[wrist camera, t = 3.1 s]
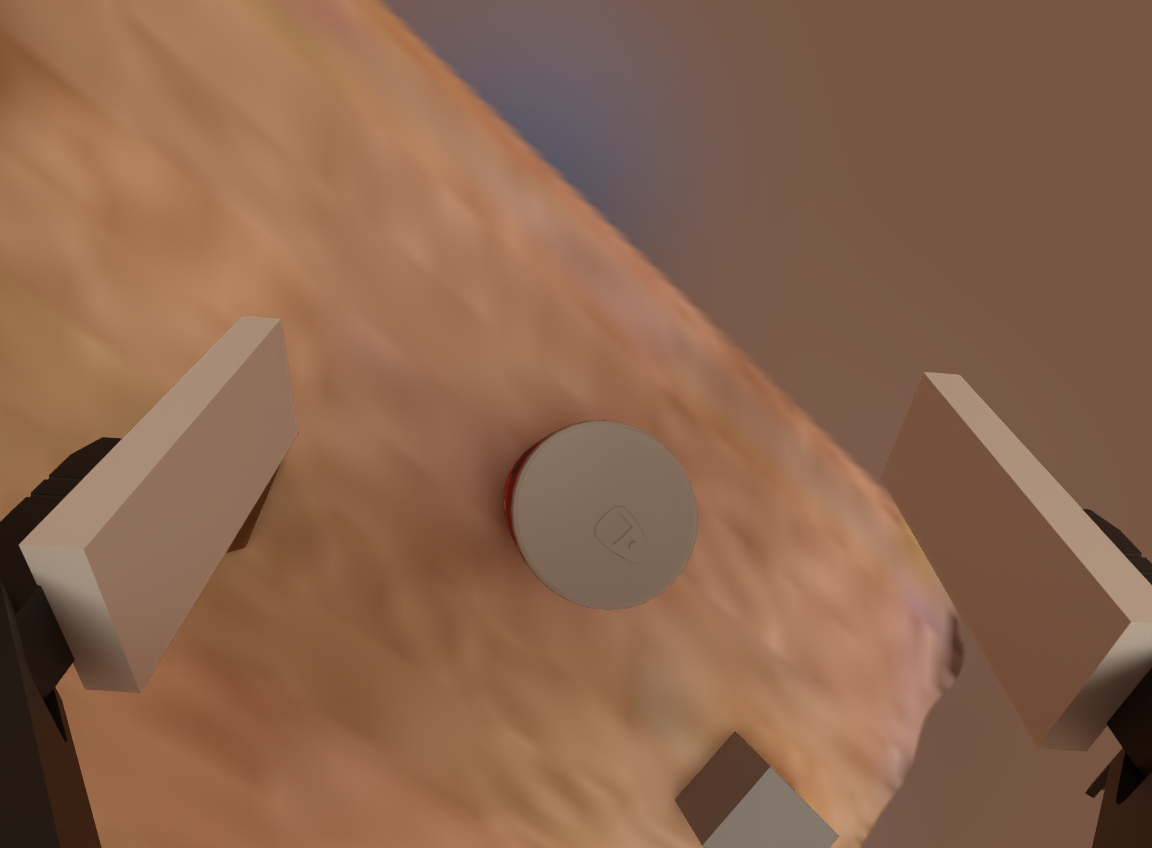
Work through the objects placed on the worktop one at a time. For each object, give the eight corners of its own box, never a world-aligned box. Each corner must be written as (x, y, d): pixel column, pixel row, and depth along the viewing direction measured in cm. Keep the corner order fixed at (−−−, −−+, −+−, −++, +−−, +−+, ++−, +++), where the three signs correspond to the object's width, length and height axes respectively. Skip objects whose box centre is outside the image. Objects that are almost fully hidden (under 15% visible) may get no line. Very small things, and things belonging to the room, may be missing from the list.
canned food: (598, 600, 40) (643, 647, 29) (475, 527, 39) (473, 546, 28) (665, 482, 41) (734, 484, 30) (547, 409, 40) (572, 383, 29)
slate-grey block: (736, 861, 40) (773, 916, 35) (674, 799, 39) (702, 845, 34) (795, 792, 40) (839, 836, 35) (734, 731, 40) (770, 766, 35)
